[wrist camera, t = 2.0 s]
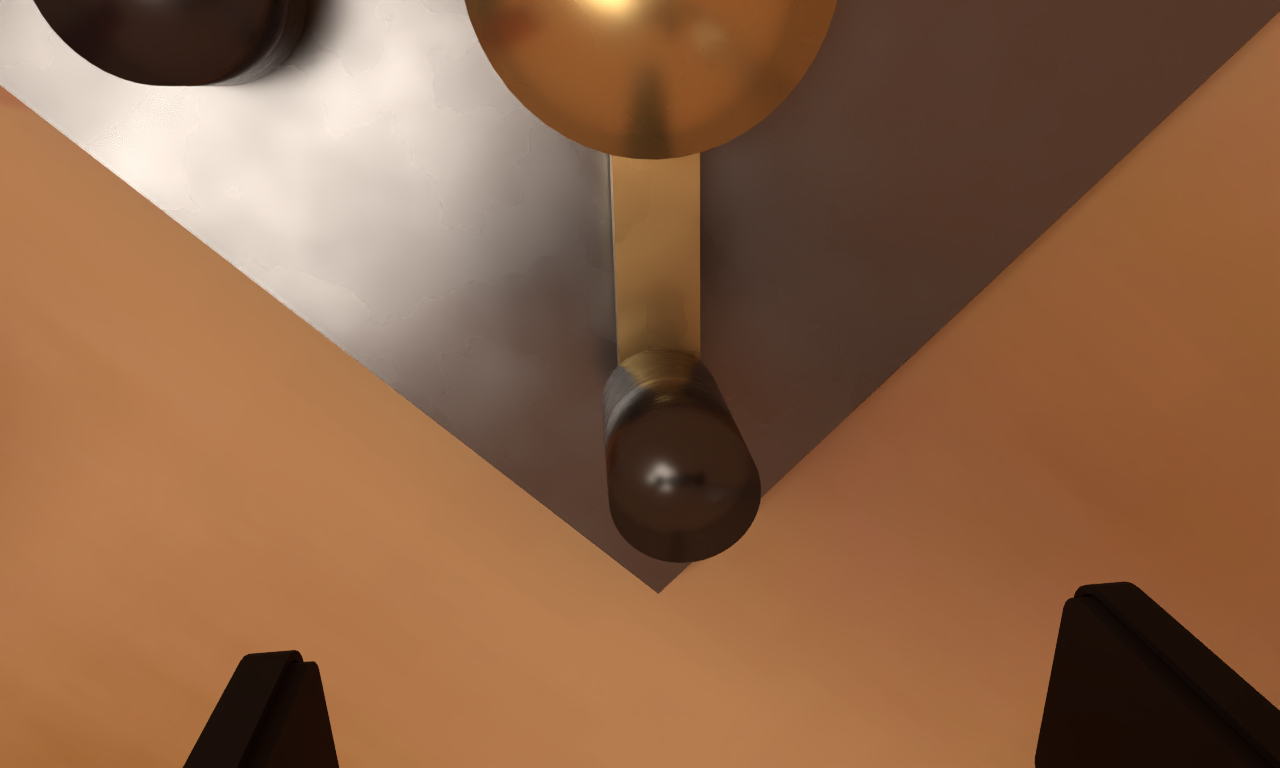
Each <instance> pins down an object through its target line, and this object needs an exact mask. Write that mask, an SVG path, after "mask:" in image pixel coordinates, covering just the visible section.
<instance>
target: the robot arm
mask: <svg viewBox="0 0 1280 768" xmlns="http://www.w3.org/2000/svg"><path fill="white" fill-rule="evenodd" d="M183 768H339V765H338V760H337V755H336V750H335V745H334V740H333V735H332V730H331V725H330V721H329V716H328V711H327V706H326V701H325V696H324V691H323V686H322V681H321V677H320V672H319V668H318V665H317V664H316V662H313V661H311V662H303V658H302V656H301V654H300V653H299V651H296V650H291V651H279V652H267V653H254V654H248V655H246V656H244V657H243V659H242V660H241V661H240V663H239V665H238V666H237V668H236V670H235V672H234V674H233V676H232V678H231V679H230V681H229V683H228V685H227V687H226V689H225V691H224V692H223V694H222V696H221V698H220V700H219V702H218V703H217V705H216V707H215V709H214V711H213V713H212V715H211V716H210V718H209V720H208V722H207V724H206V726H205V728H204V729H203V731H202V733H201V735H200V737H199V739H198V740H197V742H196V744H195V746H194V748H193V750H192V752H191V753H190V755H189V757H188V759H187V761H186V763H185V765H184V766H183ZM1035 768H1280V711H1279V710H1278V709H1277V708H1276V707H1275V706H1274V705H1273V704H1271V703H1270V702H1269V701H1268V700H1267V699H1266V698H1265V697H1263V696H1262V695H1261V694H1260V693H1259V692H1258V691H1256V690H1255V689H1254V688H1253V687H1252V686H1251V685H1250V684H1248V683H1247V682H1246V681H1245V680H1244V679H1243V678H1242V677H1240V676H1239V675H1238V674H1237V673H1236V672H1235V671H1234V670H1232V669H1231V668H1230V667H1229V666H1228V665H1227V664H1226V663H1224V662H1223V661H1222V660H1221V659H1220V658H1219V657H1218V656H1216V655H1215V654H1214V653H1213V652H1212V651H1211V650H1210V649H1208V648H1207V647H1206V646H1205V645H1204V644H1203V643H1202V642H1200V641H1199V640H1198V639H1197V638H1196V637H1195V636H1194V635H1192V634H1191V633H1190V632H1189V631H1188V630H1187V629H1186V628H1184V627H1183V626H1182V625H1181V624H1180V623H1179V622H1177V621H1176V620H1175V619H1174V618H1173V617H1172V616H1171V615H1169V614H1168V613H1167V612H1166V611H1165V610H1164V609H1163V608H1161V607H1160V606H1159V605H1158V604H1157V603H1156V602H1155V601H1153V600H1152V599H1151V598H1150V597H1149V596H1148V595H1147V594H1145V593H1144V592H1143V591H1142V590H1141V589H1140V588H1138V587H1137V586H1135V585H1134V584H1132V583H1129V582H1115V583H1103V584H1091V585H1084V586H1081V587H1079V588H1078V590H1077V591H1076V592H1075V595H1074V598H1070V599H1068V600H1067V601H1066V602H1065V605H1064V608H1063V613H1062V618H1061V623H1060V628H1059V634H1058V639H1057V644H1056V649H1055V655H1054V660H1053V665H1052V670H1051V676H1050V681H1049V686H1048V692H1047V697H1046V702H1045V707H1044V713H1043V718H1042V723H1041V728H1040V734H1039V739H1038V744H1037V750H1036V755H1035Z"/></svg>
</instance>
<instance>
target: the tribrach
mask: <svg viewBox="0 0 1280 768" xmlns="http://www.w3.org/2000/svg"><path fill="white" fill-rule="evenodd" d="M1279 11H1280V0H837V3H836V7H835V11H834V14H833V17H832V20H831V23H830V25H829V28H828V31H827V34H826V36H825V38H824V40H823V42H822V45H821V47H820V49H819V51H818V53H817V55H816V57H815V59H814V60H813V62H812V64H811V65H810V67H809V68H808V70H807V71H806V73H805V74H804V76H803V78H802V79H801V81H800V82H799V83H798V84H797V85H796V87H795V88H794V89H793V90H792V92H791V93H790V94H789V95H788V96H787V98H786V99H785V100H784V101H783V102H782V103H781V104H780V105H779V106H778V107H777V108H776V109H774V110H773V111H772V112H771V113H770V114H769V115H768V116H767V117H766V118H765V119H763V120H762V121H760V122H759V123H758V124H756V125H755V126H754V127H752V128H751V129H749V130H748V131H747V132H745V133H743V134H741V135H739V136H738V137H736V138H734V139H732V140H730V141H729V142H727V143H725V144H722V145H720V146H717V147H714V148H712V149H709V150H707V151H704V152H700V361H701V362H702V363H703V364H704V365H705V366H706V367H707V368H708V369H709V371H710V372H711V373H712V375H713V377H714V379H715V381H716V383H717V385H718V387H719V389H720V391H721V393H722V395H723V398H724V400H725V402H726V404H727V406H728V408H729V410H730V412H731V414H732V416H733V419H734V421H735V423H736V425H737V427H738V429H739V431H740V433H741V435H742V437H743V439H744V442H745V444H746V446H747V448H748V450H749V452H750V454H751V456H752V458H753V460H754V463H755V465H756V467H757V470H758V473H759V476H760V482H761V497H762V496H763V495H764V494H765V493H766V492H767V491H769V490H770V489H771V488H772V487H773V486H774V485H775V484H776V483H777V482H778V481H779V480H780V479H781V478H782V477H783V476H785V475H786V474H787V473H788V472H789V471H790V470H791V469H792V468H793V467H794V466H795V465H796V464H797V463H798V462H799V461H801V460H802V459H803V458H804V457H805V456H806V455H807V454H808V453H809V452H810V451H811V450H812V449H813V448H814V447H815V446H816V445H818V444H819V443H820V442H821V441H822V440H823V439H824V438H825V437H826V436H827V435H828V434H829V433H830V432H831V431H832V430H834V429H835V428H836V427H837V426H838V425H839V424H840V423H841V422H842V421H843V420H844V419H845V418H846V417H847V416H848V415H850V414H851V413H852V412H853V411H854V410H855V409H856V408H857V407H858V406H859V405H860V404H861V403H862V402H863V401H864V400H866V399H867V398H868V397H869V396H870V395H871V394H872V393H873V392H874V391H875V390H876V389H877V388H878V387H879V386H880V385H882V384H883V383H884V382H885V381H886V380H887V379H888V378H889V377H890V376H891V375H892V374H893V373H894V372H895V371H896V370H898V369H899V368H900V367H901V366H902V365H903V364H904V363H905V362H906V361H907V360H908V359H909V358H910V357H911V356H912V355H914V354H915V353H916V352H917V351H918V350H919V349H920V348H921V347H922V346H923V345H924V344H925V343H926V342H927V341H928V340H930V339H931V338H932V337H933V336H934V335H935V334H936V333H937V332H938V331H939V330H940V329H941V328H942V327H943V326H944V325H946V324H947V323H948V322H949V321H950V320H951V319H952V318H953V317H954V316H955V315H956V314H957V313H958V312H959V311H960V310H962V309H963V308H964V307H965V306H966V305H967V304H968V303H969V302H970V301H971V300H972V299H973V298H974V297H975V296H976V295H978V294H979V293H980V292H981V291H982V290H983V289H984V288H985V287H986V286H987V285H988V284H989V283H990V282H991V281H992V280H994V279H995V278H996V277H997V276H998V275H999V274H1000V273H1001V272H1002V271H1003V270H1004V269H1005V268H1006V267H1007V266H1008V265H1010V264H1011V263H1012V262H1013V261H1014V260H1015V259H1016V258H1017V257H1018V256H1019V255H1020V254H1021V253H1022V252H1023V251H1024V250H1026V249H1027V248H1028V247H1029V246H1030V245H1031V244H1032V243H1033V242H1034V241H1035V240H1036V239H1037V238H1038V237H1039V236H1040V235H1042V234H1043V233H1044V232H1045V231H1046V230H1047V229H1048V228H1049V227H1050V226H1051V225H1052V224H1053V223H1054V222H1055V221H1056V220H1058V219H1059V218H1060V217H1061V216H1062V215H1063V214H1064V213H1065V212H1066V211H1067V210H1068V209H1069V208H1070V207H1071V206H1072V205H1074V204H1075V203H1076V202H1077V201H1078V200H1079V199H1080V198H1081V197H1082V196H1083V195H1084V194H1085V193H1086V192H1087V191H1088V190H1090V189H1091V188H1092V187H1093V186H1094V185H1095V184H1096V183H1097V182H1098V181H1099V180H1100V179H1101V178H1102V177H1103V176H1104V175H1106V174H1107V173H1108V172H1109V171H1110V170H1111V169H1112V168H1113V167H1114V166H1115V165H1116V164H1117V163H1118V162H1119V161H1120V160H1122V159H1123V158H1124V157H1125V156H1126V155H1127V154H1128V153H1129V152H1130V151H1131V150H1132V149H1133V148H1134V147H1135V146H1136V145H1138V144H1139V143H1140V142H1141V141H1142V140H1143V139H1144V138H1145V137H1146V136H1147V135H1148V134H1149V133H1150V132H1151V131H1152V130H1154V129H1155V128H1156V127H1157V126H1158V125H1159V124H1160V123H1161V122H1162V121H1163V120H1164V119H1165V118H1166V117H1167V116H1168V115H1170V114H1171V113H1172V112H1173V111H1174V110H1175V109H1176V108H1177V107H1178V106H1179V105H1180V104H1181V103H1182V102H1183V101H1184V100H1186V99H1187V98H1188V97H1189V96H1190V95H1191V94H1192V93H1193V92H1194V91H1195V90H1196V89H1197V88H1198V87H1199V86H1200V85H1202V84H1203V83H1204V82H1205V81H1206V80H1207V79H1208V78H1209V77H1210V76H1211V75H1212V74H1213V73H1214V72H1215V71H1216V70H1218V69H1219V68H1220V67H1221V66H1222V65H1223V64H1224V63H1225V62H1226V61H1227V60H1228V59H1229V58H1230V57H1231V56H1232V55H1234V54H1235V53H1236V52H1237V51H1238V50H1239V49H1240V48H1241V47H1242V46H1243V45H1244V44H1245V43H1246V42H1247V41H1248V40H1250V39H1251V38H1252V37H1253V36H1254V35H1255V34H1256V33H1257V32H1258V31H1259V30H1260V29H1261V28H1262V27H1263V26H1264V25H1266V24H1267V23H1268V22H1269V21H1270V20H1271V19H1272V18H1273V17H1274V16H1275V15H1276V14H1277V13H1278V12H1279ZM0 85H1V86H2V87H3V88H5V89H6V90H8V91H9V92H10V93H11V94H12V95H14V96H15V97H16V98H18V99H19V100H20V101H21V102H23V103H24V104H25V105H27V106H28V107H29V108H31V109H32V110H33V111H34V112H36V113H37V114H38V115H40V116H41V117H42V118H43V119H45V120H46V121H47V122H49V123H50V124H51V125H53V126H54V127H55V128H56V129H58V130H59V131H60V132H62V133H63V134H64V135H65V136H67V137H68V138H69V139H71V140H72V141H73V142H75V143H76V144H77V145H78V146H80V147H81V148H82V149H84V150H85V151H86V152H87V153H89V154H90V155H91V156H93V157H94V158H95V159H97V160H98V161H99V162H100V163H102V164H103V165H104V166H106V167H107V168H108V169H109V170H111V171H112V172H113V173H115V174H116V175H117V176H119V177H120V178H121V179H122V180H124V181H125V182H126V183H128V184H129V185H130V186H131V187H133V188H134V189H135V190H137V191H138V192H139V193H141V194H142V195H143V196H144V197H146V198H147V199H148V200H150V201H151V202H152V203H153V204H155V205H156V206H157V207H159V208H160V209H161V210H163V211H164V212H165V213H166V214H168V215H169V216H170V217H172V218H173V219H174V220H175V221H177V222H178V223H179V224H181V225H182V226H183V227H185V228H186V229H187V230H188V231H190V232H191V233H192V234H194V235H195V236H196V237H197V238H199V239H200V240H201V241H203V242H204V243H205V244H207V245H208V246H209V247H210V248H212V249H213V250H214V251H216V252H217V253H218V254H219V255H221V256H222V257H223V258H225V259H226V260H227V261H229V262H230V263H231V264H232V265H234V266H235V267H236V268H238V269H239V270H240V271H241V272H243V273H244V274H245V275H247V276H248V277H249V278H251V279H252V280H253V281H254V282H256V283H257V284H258V285H260V286H261V287H262V288H263V289H265V290H266V291H267V292H269V293H270V294H271V295H273V296H274V297H275V298H276V299H278V300H279V301H280V302H282V303H283V304H284V305H285V306H287V307H288V308H289V309H291V310H292V311H293V312H295V313H296V314H297V315H298V316H300V317H301V318H302V319H304V320H305V321H306V322H307V323H309V324H310V325H311V326H313V327H314V328H315V329H317V330H318V331H319V332H320V333H322V334H323V335H324V336H326V337H327V338H328V339H329V340H331V341H332V342H333V343H335V344H336V345H337V346H339V347H340V348H341V349H342V350H344V351H345V352H346V353H348V354H349V355H350V356H351V357H353V358H354V359H355V360H357V361H358V362H359V363H361V364H362V365H363V366H364V367H366V368H367V369H368V370H370V371H371V372H372V373H373V374H375V375H376V376H377V377H379V378H380V379H381V380H383V381H384V382H385V383H386V384H388V385H389V386H390V387H392V388H393V389H394V390H395V391H397V392H398V393H399V394H401V395H402V396H403V397H404V398H406V399H407V400H408V401H410V402H411V403H412V404H414V405H415V406H416V407H417V408H419V409H420V410H421V411H423V412H424V413H425V414H426V415H428V416H429V417H430V418H432V419H433V420H434V421H436V422H437V423H438V424H439V425H441V426H442V427H443V428H445V429H446V430H447V431H448V432H450V433H451V434H452V435H454V436H455V437H456V438H458V439H459V440H460V441H461V442H463V443H464V444H465V445H467V446H468V447H469V448H470V449H472V450H473V451H474V452H476V453H477V454H478V455H480V456H481V457H482V458H483V459H485V460H486V461H487V462H489V463H490V464H491V465H492V466H494V467H495V468H496V469H498V470H499V471H500V472H502V473H503V474H504V475H505V476H507V477H508V478H509V479H511V480H512V481H513V482H514V483H516V484H517V485H518V486H520V487H521V488H522V489H524V490H525V491H526V492H527V493H529V494H530V495H531V496H533V497H534V498H535V499H536V500H538V501H539V502H540V503H542V504H543V505H544V506H546V507H547V508H548V509H549V510H551V511H552V512H553V513H555V514H556V515H557V516H558V517H560V518H561V519H562V520H564V521H565V522H566V523H568V524H569V525H570V526H571V527H573V528H574V529H575V530H577V531H578V532H579V533H580V534H582V535H583V536H584V537H586V538H587V539H588V540H590V541H591V542H592V543H593V544H595V545H596V546H597V547H599V548H600V549H601V550H602V551H604V552H605V553H606V554H608V555H609V556H610V557H612V558H613V559H614V560H615V561H617V562H618V563H619V564H621V565H622V566H623V567H624V568H626V569H627V570H628V571H630V572H631V573H632V574H634V575H635V576H636V577H637V578H639V579H640V580H641V581H643V582H644V583H645V584H646V585H648V586H649V587H650V588H652V589H653V590H654V591H656V592H657V593H658V594H659V593H660V592H661V591H662V590H663V589H664V588H665V587H666V586H667V585H668V584H669V583H670V582H671V581H673V580H674V579H675V578H676V577H677V576H678V575H679V574H680V573H681V572H682V571H683V570H684V569H685V568H686V567H687V566H689V565H690V564H691V563H692V562H688V563H674V562H666V561H661V560H657V559H654V558H652V557H649V556H647V555H645V554H643V553H641V552H639V551H638V550H636V549H635V548H633V547H632V546H631V545H630V544H629V543H628V542H627V541H626V540H625V539H624V538H623V537H622V536H621V534H620V533H619V531H618V530H617V528H616V526H615V524H614V522H613V519H612V516H611V513H610V508H609V499H608V486H607V474H606V461H605V449H604V436H603V424H602V411H601V400H602V394H603V391H604V387H605V385H606V383H607V381H608V379H609V377H610V376H611V374H612V373H613V371H614V370H615V369H616V368H617V367H618V364H617V338H616V311H615V285H614V259H613V233H612V206H611V180H610V154H606V153H603V152H600V151H597V150H594V149H590V148H588V147H585V146H583V145H581V144H579V143H577V142H575V141H573V140H570V139H568V138H566V137H565V136H563V135H561V134H560V133H558V132H557V131H555V130H554V129H552V128H550V127H549V126H547V125H546V124H544V123H543V122H542V121H541V120H540V119H538V118H537V117H536V116H535V115H534V114H532V113H531V112H530V111H529V110H528V109H527V108H525V106H524V105H523V104H522V103H521V102H520V101H519V100H518V99H517V98H516V97H515V96H514V95H513V94H512V92H511V91H510V90H509V89H508V88H507V87H506V85H505V84H504V82H503V81H502V80H501V78H500V77H499V75H498V74H497V73H496V71H495V70H494V69H493V67H492V65H491V63H490V62H489V60H488V58H487V56H486V54H485V53H484V51H483V49H482V47H481V45H480V43H479V41H478V38H477V36H476V34H475V31H474V29H473V26H472V24H471V21H470V19H469V15H468V12H467V8H466V5H465V1H464V0H0Z"/></svg>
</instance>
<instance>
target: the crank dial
mask: <svg viewBox="0 0 1280 768" xmlns="http://www.w3.org/2000/svg"><path fill="white" fill-rule="evenodd" d="M464 1H465V5H466V8H467V12H468V15H469V19H470V21H471V24H472V26H473V29H474V31H475V34H476V36H477V38H478V41H479V43H480V45H481V47H482V49H483V51H484V53H485V54H486V56H487V58H488V60H489V62H490V63H491V65H492V67H493V69H494V70H495V71H496V73H497V74H498V75H499V77H500V78H501V80H502V81H503V82H504V84H505V85H506V87H507V88H508V89H509V90H510V91H511V92H512V94H513V95H514V96H515V97H516V98H517V99H518V100H519V101H520V102H521V103H522V104H523V105H524V106H525V108H527V109H528V110H529V111H530V112H531V113H532V114H534V115H535V116H536V117H537V118H538V119H540V120H541V121H542V122H543V123H544V124H546V125H547V126H549V127H550V128H552V129H554V130H555V131H557V132H558V133H560V134H561V135H563V136H565V137H566V138H568V139H570V140H573V141H575V142H577V143H579V144H581V145H583V146H585V147H588V148H590V149H594V150H597V151H600V152H603V153H606V154H610V180H611V206H612V233H613V259H614V285H615V311H616V338H617V364H618V367H617V368H616V369H615V370H614V371H613V373H612V374H611V376H610V377H609V379H608V381H607V383H606V385H605V387H604V391H603V394H602V400H601V411H602V424H603V436H604V449H605V461H606V474H607V486H608V499H609V508H610V513H611V516H612V519H613V522H614V524H615V526H616V528H617V530H618V531H619V533H620V534H621V536H622V537H623V538H624V539H625V540H626V541H627V542H628V543H629V544H630V545H631V546H632V547H633V548H635V549H636V550H638V551H639V552H641V553H643V554H645V555H647V556H649V557H652V558H654V559H657V560H661V561H666V562H674V563H688V562H696V561H700V560H704V559H707V558H710V557H713V556H715V555H717V554H719V553H721V552H723V551H725V550H726V549H728V548H729V547H731V546H732V545H733V544H735V543H736V542H737V541H738V540H739V539H740V538H741V537H742V536H743V535H744V534H745V533H746V531H747V530H748V529H749V527H750V526H751V524H752V522H753V520H754V519H755V516H756V514H757V511H758V508H759V504H760V499H761V482H760V476H759V473H758V470H757V467H756V465H755V463H754V460H753V458H752V456H751V454H750V452H749V450H748V448H747V446H746V444H745V442H744V439H743V437H742V435H741V433H740V431H739V429H738V427H737V425H736V423H735V421H734V419H733V416H732V414H731V412H730V410H729V408H728V406H727V404H726V402H725V400H724V398H723V395H722V393H721V391H720V389H719V387H718V385H717V383H716V381H715V379H714V377H713V375H712V373H711V372H710V371H709V369H708V368H707V367H706V366H705V365H704V364H703V363H702V362H701V361H700V152H704V151H707V150H709V149H712V148H714V147H717V146H720V145H722V144H725V143H727V142H729V141H730V140H732V139H734V138H736V137H738V136H739V135H741V134H743V133H745V132H747V131H748V130H749V129H751V128H752V127H754V126H755V125H756V124H758V123H759V122H760V121H762V120H763V119H765V118H766V117H767V116H768V115H769V114H770V113H771V112H772V111H773V110H774V109H776V108H777V107H778V106H779V105H780V104H781V103H782V102H783V101H784V100H785V99H786V98H787V96H788V95H789V94H790V93H791V92H792V90H793V89H794V88H795V87H796V85H797V84H798V83H799V82H800V81H801V79H802V78H803V76H804V74H805V73H806V71H807V70H808V68H809V67H810V65H811V64H812V62H813V60H814V59H815V57H816V55H817V53H818V51H819V49H820V47H821V45H822V42H823V40H824V38H825V36H826V34H827V31H828V28H829V25H830V23H831V20H832V17H833V14H834V11H835V7H836V3H837V0H464Z"/></svg>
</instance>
